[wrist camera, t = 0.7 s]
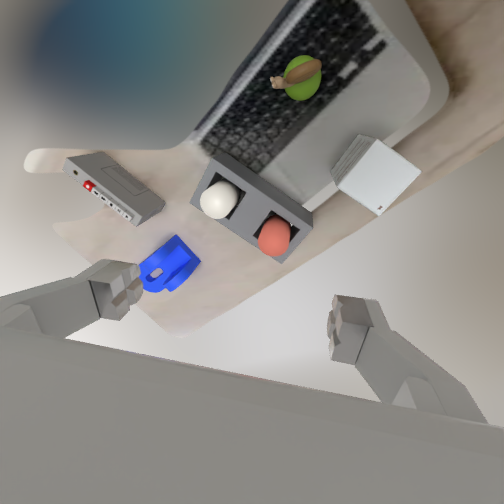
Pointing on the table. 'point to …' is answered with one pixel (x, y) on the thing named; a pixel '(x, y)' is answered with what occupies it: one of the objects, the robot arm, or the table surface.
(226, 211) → the plug
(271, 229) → the red plug
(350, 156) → the supplement box
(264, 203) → the block
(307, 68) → the snail figurine
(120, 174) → the cassette player
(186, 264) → the bracket
